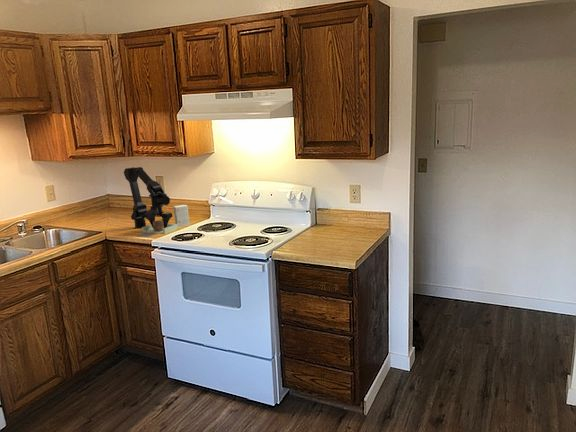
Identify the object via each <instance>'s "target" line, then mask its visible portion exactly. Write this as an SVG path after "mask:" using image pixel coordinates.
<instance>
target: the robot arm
mask: <svg viewBox="0 0 576 432" xmlns="http://www.w3.org/2000/svg"><path fill="white" fill-rule="evenodd" d="M123 175H124V177H125V180H126V181H127V182H128V183H129V187H130V192H131V196H132V199H133V207H132V213H131V215H130V218H131V220H133V221H134V227H133V229H136V230H137V229H138V230H140V229H141V230H142V227H144V226H147V223H146V222H147V221H149V224H150V225H152V227H153V221H156V217H158V218H160V217H161V220H163V224H164V228H166V227H167V224H169V221H170V219H172V218H173V213H172V212H168V211H167V212H164V211H163V207H164V206H168V205H169V204H170V202H171V198H170V197H169V195H168V194H167V193H166V192H165V190H164V189H163V187H162V185H161V184H160V183H159V182H158V181H155V180H153V179H152V178H151V177H150V176H149V175H148V173H146V171H145V169H144V168H143V167H141V166H139V167H138V166H137V167H135V166H134V167H133V166H132V167H126V168H125V169H124V170H123ZM138 179H140V180H141V181H142V183H144V185H145V186H146V191H148V193H149V195H148V197H149V198H150V200H151V206H150V209H149V210H148V208H147V205H146V204H145V203H143V200H142V195H141V192H140V188H139V187H140V186H139V183H138ZM146 220H147V221H146Z"/></svg>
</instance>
